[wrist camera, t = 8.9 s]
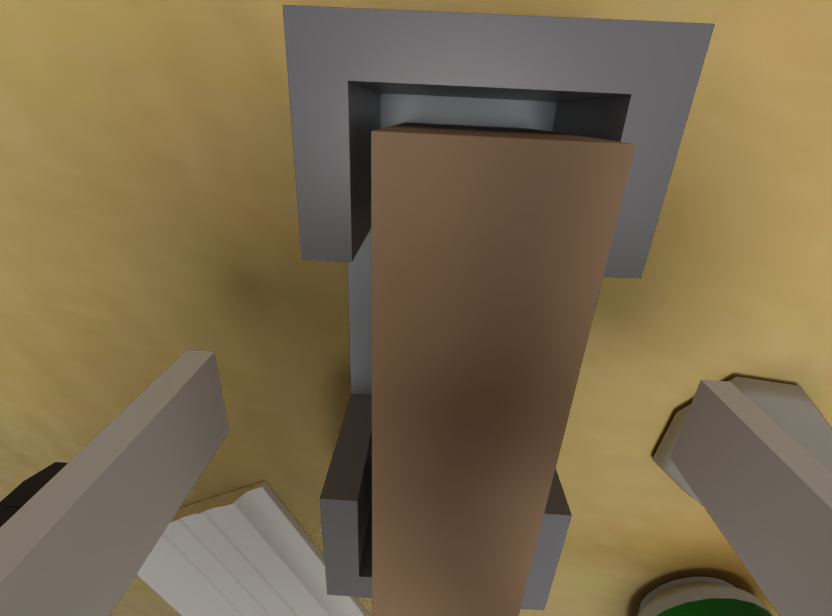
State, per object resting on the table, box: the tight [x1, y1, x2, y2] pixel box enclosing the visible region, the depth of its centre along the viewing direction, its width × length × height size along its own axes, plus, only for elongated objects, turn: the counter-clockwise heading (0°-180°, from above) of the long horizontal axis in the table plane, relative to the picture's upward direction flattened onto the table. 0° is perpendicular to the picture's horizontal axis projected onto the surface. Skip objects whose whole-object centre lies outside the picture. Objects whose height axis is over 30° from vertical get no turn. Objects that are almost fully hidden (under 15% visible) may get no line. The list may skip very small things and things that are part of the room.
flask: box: [652, 377, 832, 506], centre depth 15 cm, size 7×7×10 cm
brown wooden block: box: [371, 122, 636, 616], centre depth 13 cm, size 4×14×8 cm, turn 177°
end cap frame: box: [283, 5, 715, 610], centre depth 14 cm, size 8×18×6 cm, turn 177°
